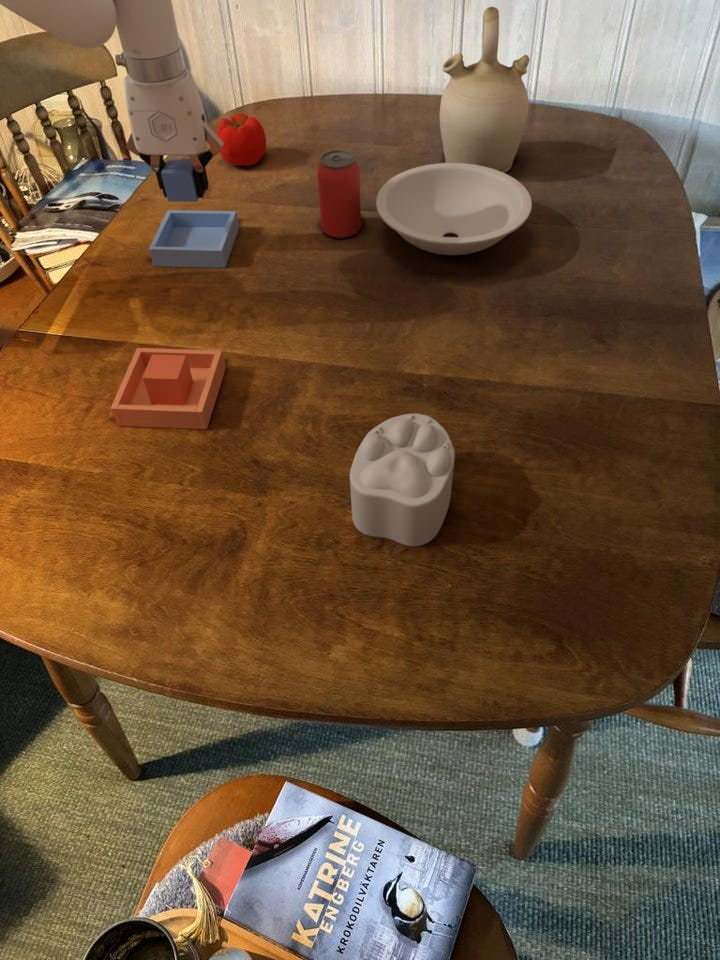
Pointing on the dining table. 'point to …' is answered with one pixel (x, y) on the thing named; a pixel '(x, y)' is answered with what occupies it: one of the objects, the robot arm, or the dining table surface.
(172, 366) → the terracotta block
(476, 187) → the vessel sink basin
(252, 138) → the tomato
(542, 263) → the dining table surface
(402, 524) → the lumpy-topped squat cylinder
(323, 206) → the beer can
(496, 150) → the jug
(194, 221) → the blue tray
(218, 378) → the terracotta tray
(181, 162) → the blue block
